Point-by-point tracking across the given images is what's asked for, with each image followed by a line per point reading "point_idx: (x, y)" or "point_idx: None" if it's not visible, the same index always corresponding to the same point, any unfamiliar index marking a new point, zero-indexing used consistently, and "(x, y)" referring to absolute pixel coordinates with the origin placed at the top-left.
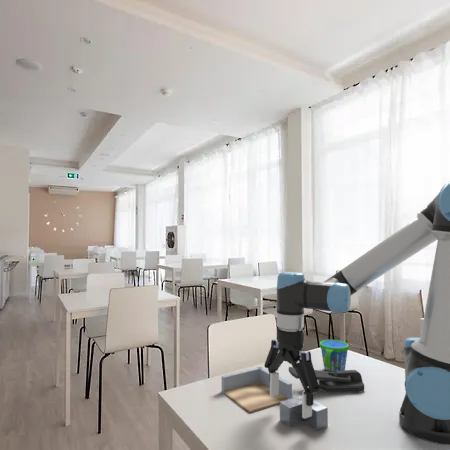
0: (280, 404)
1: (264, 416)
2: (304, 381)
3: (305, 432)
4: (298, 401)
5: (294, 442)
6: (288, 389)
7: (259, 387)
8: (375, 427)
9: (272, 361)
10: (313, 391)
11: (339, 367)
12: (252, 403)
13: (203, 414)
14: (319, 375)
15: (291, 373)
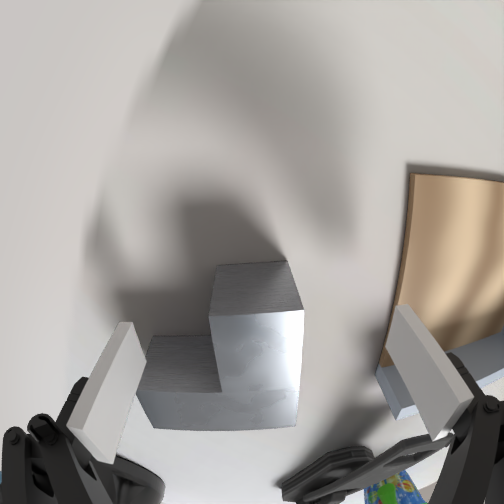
0: (295, 303)
1: (354, 217)
2: (55, 492)
3: (157, 297)
4: (252, 387)
5: (111, 215)
6: (394, 394)
7: (489, 315)
8: (132, 437)
9: (498, 463)
10: (5, 438)
11: (369, 493)
12: (450, 227)
13: (466, 22)
14: (359, 480)
15: (429, 438)
